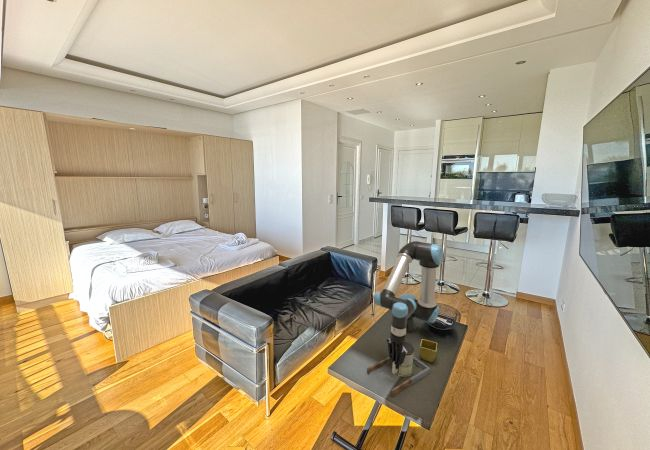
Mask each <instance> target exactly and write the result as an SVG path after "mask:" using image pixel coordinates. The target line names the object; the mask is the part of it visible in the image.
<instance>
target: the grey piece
mask: <svg viewBox="0 0 650 450" xmlns="http://www.w3.org/2000/svg"><path fill="white" fill-rule="evenodd" d="M385 359H387V364H386V365H388V364H390V363H392V359H391V358H390V357H389V356H388V357H386V358H385ZM413 364H415V365H416V366H418V367H419V368H420V369H422V370H421V371H420V372H418V373H417V374H415V375H413V376H412V377H410V378H409V379H411V380H412V381H411V385H413V384H415V383H416V382H418V381H420V380H421V379H423V378H424V377H426V376H428V375H429V374H430V372H431V368H430V367H429V366H427V365H426V364H425V363H424V362H422V361H420V359H418V358H417V357H415V356H413ZM411 385H410V386H411Z"/></svg>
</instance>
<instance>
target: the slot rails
mask: <svg viewBox="0 0 650 450" xmlns="http://www.w3.org/2000/svg"><path fill="white" fill-rule="evenodd" d="M387 365H388V364H387V359H386V358H384V359H382V360H380V361H378V362H376V363H374V364H372V365H370V366H368V367H367V369H366V374H367V375H369V374H371V373H373V372H374V370H375V371H376V369H377V370H379V369H380V367H381V368H382V367H384V366H387ZM378 368H379V369H378ZM372 371H373V372H372ZM370 372H371V373H370ZM411 381H412V380H411V379H410V378H409V379H406V380H405V381H404V382H402V383H400V384H398V385H397V386H395V387H394V388H392V389H391V390H390V395H391V396H393V397H395V395H397V394H399V393H400V392H402V391H403V390H405V389H408V388H409V387H410V386H411Z"/></svg>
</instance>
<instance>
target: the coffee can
mask: <svg viewBox="0 0 650 450" xmlns="http://www.w3.org/2000/svg"><path fill="white" fill-rule="evenodd" d="M404 346H405V347H404V348H405V349H406V350H408V353H407V354H406V356H405V359H404V362H403V364H401V365H399V369H398V372H397V373H396V375H398V376H400V377H403V378H405V377H406V378H408V377H410V376H411V375H412V374H413V365H414V363H413V356H414V355H415V347H414V346H413V345H412V344H411V343H409V342H407V341H405V342H404ZM401 353H402V351H401ZM414 357H415V356H414Z"/></svg>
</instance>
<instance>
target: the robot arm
mask: <svg viewBox="0 0 650 450" xmlns="http://www.w3.org/2000/svg"><path fill="white" fill-rule="evenodd" d="M396 258H397V259H396V262H395V263H394V265H393V268H392V269H391V272H390V273H389V276H388V278H387V280H386V283H385V285H384V287H383V289H382V291H377V292H376V293H375V294H374V298H373V299H374V301H373V302H374V304H375V305H376V306H379V307H381V308H384V309H388V310H391V322H390V332H389V333H390V336H389V338H387V339H386V343H387V349H388V357H390V358H391V359H392V362H391V367H392V369H391V373H392V374H393V375H395V374H396V373H397V372H398V369H399V365H401V364H403V362H404V359H405V356H406V354H407V353H408V350H406V349H405V348H404V347H405V346H404V342H406V334H408V333H409V334H411V333H414V332H415V331H416V330H417V324H416V320H415V318H416V319H419V320H421V321H424V322H427V323H430V324H434V323H435V322H436V321H437V318H438V315H439V313H440V306H439V305H437V301H436V300H435V294H436V280H437V269H438V268H439V267H440V265H442V263H443V261H444V250H443V247H442V246H441V245H439V244H435V243H429V242H422V241H418V240H414V241H409V242H408V243H407V244H404V246H402V247H401V248H400V250H399V251H398V253H397V256H396ZM413 260H416V261H419V264H418V265H419V266H420V267H421V274H420V293H419V294H420V296H419V298H418V299H417V297H416V296H415V295H414V294H411V293H404V294H401V295H399V296H398V297H397V296H396V294H397V292H398V290H399V287H400V286H401V283H402V280H403V279H404V277H405V274H406V272H407V269H408V267H409V265H410V264H411V263H413ZM401 351H402V353H401ZM396 375H397V374H396Z"/></svg>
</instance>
